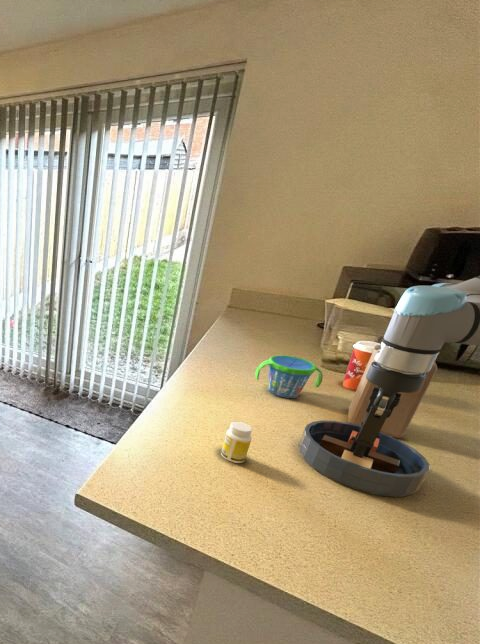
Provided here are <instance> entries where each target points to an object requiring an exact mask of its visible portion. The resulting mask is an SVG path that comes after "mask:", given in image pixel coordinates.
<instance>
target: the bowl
mask: <svg viewBox="0 0 480 644" xmlns="http://www.w3.org/2000/svg"><path fill="white" fill-rule="evenodd" d="M360 427H361V426H360V425H356V424H351V423H349V422H347V421H346V422H345V421H338V420H322V419H321V420H316V421H312V422H309V423H307V424H306V426H305V427H304V429H303V432H302V434H301V436H300V439H299V442H298V445H297V447H298V448H297V450H298V453H299V454H300V455H301V457H302V459H303V460H304V462H305V463H307V464H308V465H309V467H311V468H313V469H314V470H316V471H317V472H318V473H320V474H321V475H323V476H325V478H326V477H327V478H328V479H330V480H333V481H334V482H335V483H339V484H341V485H343V486H346V487H348V488H351V489H354V490H357V491H359V492H363V493H367V494H372V495H375V496H380V497H391V498H392V497H393V498H394V497H395V498H397V497H398V498H399V497H406V496H410V495H414V494H415V493H416V492H418V491H419V490H420V489H421V487H422V485H423V483H424V481H425V479H426V478H427V476H428V474H429V472H430V468H431V465H430V463H429V461H428V459H427V458H426V457H425V456H424V455H423V454H422V453H421V452H419V451H418V450H417V449H415V448H413V447H412V446H410V445H409V444H407V443H406V442H404V441H402V440H399V438H396V437H392V436H389V435H387V434H384V433H382V432H379V433H380V434H381V435H380V437H379V438H378V437H377V438H378V439H380V440H379V444H378V448H377V450H376V452H377V453H379V454H382V455H385V456H388V457H391V458H394V459H397V460H400V462H399V466H398V468H397V470H396V472H395V474H394V473H387V472H381V471H378V470H374V469H370V468H366V467H363V466H360V465H357V464H354V463H352V462H349V461H347V460H344V459H342V458H340V457H338V456H336V455H334V454H332V453H331V452H329V451H327V450H325V449H324V448H322V447H321V446H320V444H321V441H322V439H323V437H324V435H327V436H330V437H333V438H336V439H338V440H341V441H344V442H348V440H349V438H350V436H351V433H352V431H356V432H359V428H360Z"/></svg>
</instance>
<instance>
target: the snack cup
mask: <svg viewBox="0 0 480 644" xmlns="http://www.w3.org/2000/svg"><path fill="white" fill-rule="evenodd" d="M266 366H268V368H269V370H268V378H267V379H268V380H267V391H269V393H271V394H273V395H275V396H277V397H280V398H281V397H282V398H286V399H295V398H297V397H298V396H299V395H300V394H301V393H302V391H303V389H304V387H305V386H306V385H307V382H308V381H309V379H310V377H311V376H312V375H313V373H315V371H317V372H318V373H317V376H316V380H315V381H314V382H313V383H314V384H313V386H314V387H315V388H319V387H320V386H321V385H322V382H323V378H324V375H323V372H322V370H321V368H319V367H318V366H316V365H315V364H314V363H313V362H311V361H309V360H308V359H305V358H301V357H297V356H294V355H293V356H292V355H285V354H281V355H280V354H277V355H272V356H270V358H269V359H267V360H264V361H263V362H261V363H260V364H259V365H258V366H257V368H256V369H255V371H254V372H255V373H254V376H255V380H256V381H259V380H260V371H261V369H263V368H264V367H266Z"/></svg>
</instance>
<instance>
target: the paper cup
mask: <svg viewBox="0 0 480 644" xmlns="http://www.w3.org/2000/svg"><path fill="white" fill-rule="evenodd" d="M375 345H381V342H376V341H368V340H358V341H357V342H355V344H353V345H352V347H353V349H352V353H351V356H350V359H349V361H348V365H347V368H346V373H345V374H344V378H343V382H342V386H343V387H344V388H346V389H349V390H351V391H355V392H356V390H357V388H358V385H359V383H360V381H361V378H362V376H363V374H364V371H365V369H366V367H367V364H368V362H369V360H370V357H371V355H372V353H373V350H374V346H375Z"/></svg>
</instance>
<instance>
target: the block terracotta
mask: <svg viewBox="0 0 480 644" xmlns="http://www.w3.org/2000/svg"><path fill="white" fill-rule="evenodd" d="M357 433H358V432H356V431H352V433H351V436H350V438H349V440H348V442H347V443H350V444H352V443H353V440H351V438H352V436H353V437H356V435H357ZM379 440H380V439H378V438H376V440H375V442H374V446H373V447H372V448H371V451H374V452H376V450H377V448H378V444H379Z"/></svg>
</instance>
